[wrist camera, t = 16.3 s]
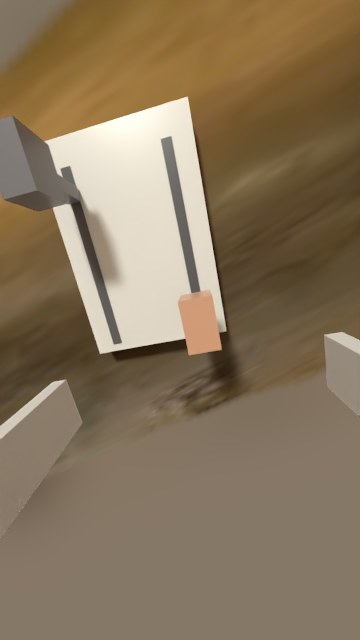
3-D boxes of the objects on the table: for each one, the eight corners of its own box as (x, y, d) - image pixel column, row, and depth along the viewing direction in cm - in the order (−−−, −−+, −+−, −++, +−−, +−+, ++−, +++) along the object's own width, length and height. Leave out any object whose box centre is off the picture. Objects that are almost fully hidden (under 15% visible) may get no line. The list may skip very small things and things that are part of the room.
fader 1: (67, 221, 26) (3, 199, 17) (53, 175, 25) (-24, 127, 16) (90, 215, 25) (36, 190, 17) (77, 168, 24) (12, 115, 16)
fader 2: (190, 326, 28) (188, 355, 19) (183, 289, 27) (177, 302, 18) (213, 322, 28) (221, 349, 19) (206, 284, 27) (212, 295, 18)
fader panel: (108, 345, 33) (99, 353, 30) (49, 157, 27) (31, 144, 24) (223, 324, 31) (226, 331, 28) (188, 115, 25) (187, 95, 22)
